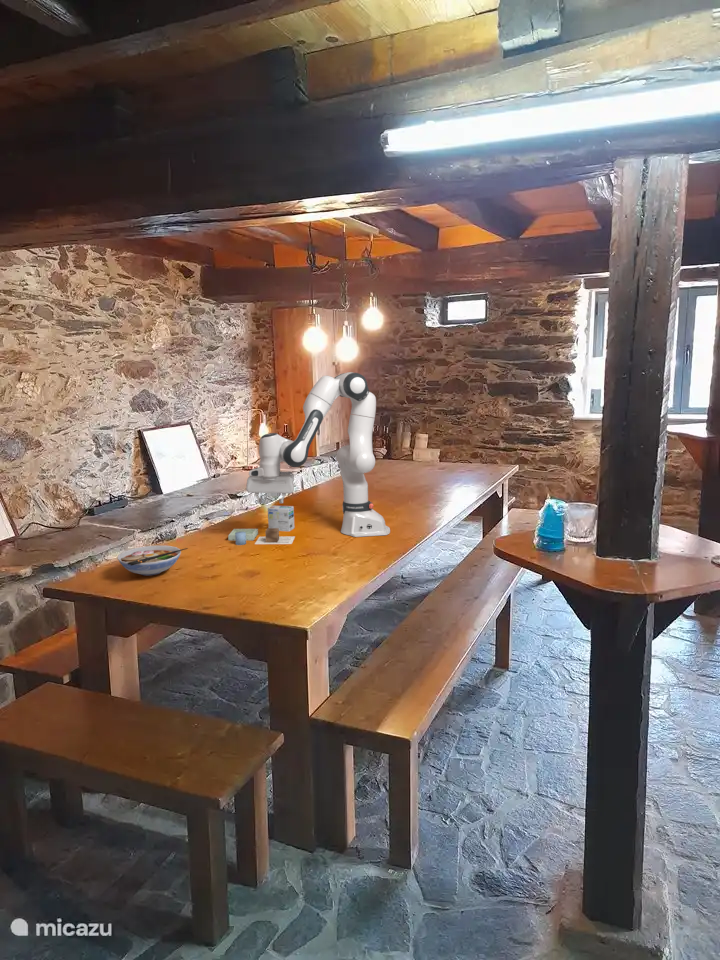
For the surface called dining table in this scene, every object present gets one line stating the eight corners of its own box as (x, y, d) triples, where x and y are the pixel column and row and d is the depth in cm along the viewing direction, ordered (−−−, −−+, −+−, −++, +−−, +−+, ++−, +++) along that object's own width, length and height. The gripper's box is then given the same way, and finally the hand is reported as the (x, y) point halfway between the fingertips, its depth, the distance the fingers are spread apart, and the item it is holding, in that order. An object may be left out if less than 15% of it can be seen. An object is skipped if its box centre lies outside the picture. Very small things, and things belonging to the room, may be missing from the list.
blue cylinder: (247, 542, 286) (246, 531, 285) (245, 545, 281) (244, 534, 280) (236, 542, 286) (236, 531, 285) (234, 545, 281) (234, 534, 280)
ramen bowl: (161, 559, 264) (160, 539, 262) (197, 570, 249) (196, 549, 248) (103, 575, 245) (101, 554, 243) (138, 588, 230) (136, 565, 229)
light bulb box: (294, 528, 308) (294, 505, 306) (289, 532, 302) (288, 509, 300) (273, 527, 311) (272, 504, 309) (268, 530, 305) (267, 507, 303)
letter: (295, 536, 294) (295, 536, 293) (291, 544, 282) (291, 543, 282) (259, 537, 294) (259, 536, 294) (254, 544, 282) (254, 544, 282)
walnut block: (279, 539, 289) (278, 528, 288) (277, 542, 284) (276, 531, 283) (267, 539, 289) (267, 528, 289) (265, 542, 285) (265, 531, 284)
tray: (258, 534, 299) (257, 528, 299) (253, 540, 288) (253, 535, 288) (234, 534, 299) (233, 528, 299) (228, 540, 289) (228, 535, 288)
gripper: (295, 470, 284) (295, 501, 287) (248, 469, 286) (249, 501, 288) (292, 472, 278) (293, 504, 281) (245, 472, 279) (245, 504, 282)
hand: (270, 502), depth 284 cm, fingers open, 8 cm apart
